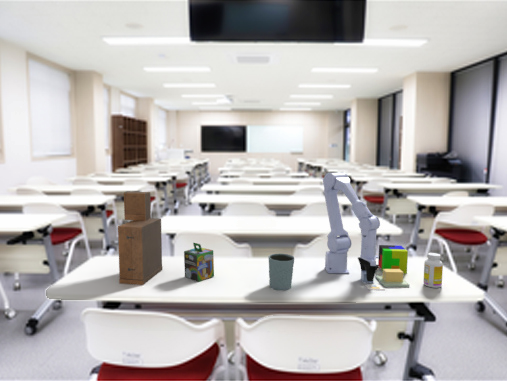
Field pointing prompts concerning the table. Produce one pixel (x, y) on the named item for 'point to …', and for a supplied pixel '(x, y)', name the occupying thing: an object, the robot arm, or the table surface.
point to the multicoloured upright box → (198, 263)
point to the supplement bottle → (433, 270)
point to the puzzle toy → (393, 257)
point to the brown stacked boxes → (139, 241)
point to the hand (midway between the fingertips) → (367, 277)
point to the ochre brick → (392, 275)
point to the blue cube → (364, 277)
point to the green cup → (280, 271)
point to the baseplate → (392, 283)
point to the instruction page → (375, 287)
